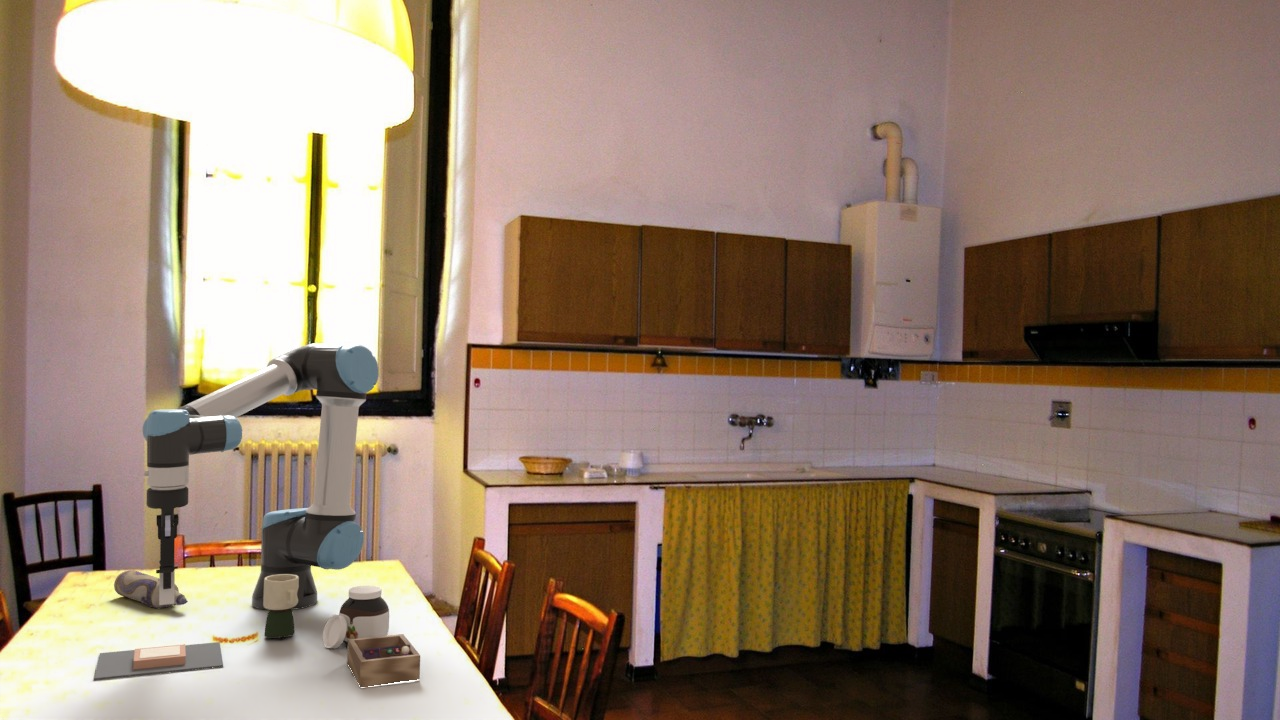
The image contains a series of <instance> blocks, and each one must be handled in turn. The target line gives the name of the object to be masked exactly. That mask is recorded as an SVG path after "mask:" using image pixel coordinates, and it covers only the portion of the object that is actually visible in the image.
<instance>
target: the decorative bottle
mask: <svg viewBox="0 0 1280 720" xmlns="http://www.w3.org/2000/svg"><path fill="white" fill-rule="evenodd" d="M113 586H114V592H115V593H116V594H117V595H119V596H121V597H125V598H128V599H131V600H133V601H134V600H135V601H136V602H137V601H138V602H140V603H142V604H143V605H145V606H147V607H150V608H154V609H158V608H159V609H164V608H165V607H166V608H169V607H172V606H183V605H185V604H187V603H188V600H187V598H186V597H185V594H183V593H180V591H179V587H178V585H177V584H176V583H174V604H166V605H159V577H156V576H153V575H149V574H146V573H144V572H141V571H138V570H135V569H128V570H125V571H123V572H121V573H120V574H118V575H117V577H116V578H115V580H114V584H113Z"/></svg>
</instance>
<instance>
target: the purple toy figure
mask: <svg viewBox="0 0 1280 720" xmlns="http://www.w3.org/2000/svg"><path fill="white" fill-rule="evenodd" d="M393 648H394V650H393ZM401 648H402V649H401ZM383 649H387V650H386V653H387V654H388V655H391V654H392V653H393V651H394V653H395V654H400V651H402V653H403V656H405V655H411V652H410V645H400V646H390V647H380V648H371V649H363V650H362V656H363V657H365V659H366V660H368V659H377V658H380V650H383ZM394 657H395V656H394Z"/></svg>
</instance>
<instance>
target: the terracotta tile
mask: <svg viewBox="0 0 1280 720" xmlns="http://www.w3.org/2000/svg"><path fill="white" fill-rule="evenodd" d="M185 645H186V644H176V645H175V644H174V645H163V646H154V647H153V646H151V647H142V648H135V649H134V650H135V654H134V663H133V669H142V668H152V667H162V666H172V665H182V664H185V661H186V652H185Z"/></svg>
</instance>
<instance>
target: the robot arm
mask: <svg viewBox="0 0 1280 720" xmlns="http://www.w3.org/2000/svg"><path fill="white" fill-rule="evenodd" d="M379 375H380V371H379V364H378V361H377V358H376V357H375V356H374V355H373V352H372V351H371V350H370V349H369V348H367V347H366V346H364V345H361V344H354V343H351V342H349V343H346V342H344V343H329V342H328V343H327V342H326V343H324V342H314V343H309V344H306V345H302V346H299V347H298V348H294V349H292V350H290V351H288V352H286V353H284V354H282V355H280V356H277V357H274V358H273V359H271V360H270V361H268V363H267V364H266V367H264V368H262V369H259V370H258V371H255V372H253V373H250V374H248V375H247V376H245V377H242V378H241V379H238V380H236V381H234V382H231V383H230V384H228V385H226V386H223V387H221V388H219V389H217V390H215V391H212V392H211V393H208V394H206V395H204V396H202V397H200V398H198V399H195V400H193V401H191V402H189V403H187V404H185V405H183V406H180V407H178V408H175V409H174V408H173V409H172V408H171V409H170V408H169V409H167V408H165V409H163V408H162V409H154V410H152V411H150V412H149V413H148V416H147V418H145V420H144V422H143V424H142V435H143V437H144V440H145V441H146V466H147V468H146V470H144V471H143V476H145V477H146V485H147V486H148V487H149V488H148V489H146V507H147V508H149V509H153V510H154V509H155V510H158V509H160V510H161V512H160V514H156V526H157V538H158V540H160V541H159V542H160V544H159V545H160V546H159V547H160V550H159V551H160V554H159V555H160V557H159V569H156V570H155V574H158V575H159V577H158V578H159V605H166V604H174V584H176V583H175V581H176V580H175V575H176V574H175V570H177V569H179V566H178V564H175V542H176V541H175V539H176V538H177V537H178V525H179V520H180V519H179V518H180V517H179V513H175V509H176V508H183V507H186V506H188V504H189V487H187V485H188V484H189V482H190V464H189V463H190V462H189V460H190V456H191V455H197V454H207V453H219V452H221V453H224V452H226V451H231V450H234V449H236V448H237V447H238V446H239V445H240V443H241V442H242V439H243V428H242V427H243V426H242V424H241V422H240V420H239V419H238V418H239V417H240V416H242V415H244V414H246V413H249V411H253V409H256V408H258V407H260V406H262V405H264V404H266V403H268V402H269V401H272V400H274V399H277V398H278V397H281V396H282V395H283V396H291V395H293V394H295V393H297V392H301V391H308V390H309V391H310V390H314V391H315V390H316V395H315V398H316V399H317V400H318V401H319V403H320V404H321V414H320V425H319V433H318V435H319V436H318V444H317V445H318V448H317V456H316V467H315V476H314V478H315V479H314V488H313V499H312V504H311V505H310V506H309V507H303V508H302V507H301V508H299V507H298V508H289V509H282V510H280V509H279V510H274V511H269V512H267V513H265V514H264V516H263V518H262V527H261V529H260V530H261V545H260V546H261V547H260V548H261V550H260V551H261V552H260V554H261V555H260V557H261V558H260V573H259V577H258V579H257V582H256V584H255V588H254V590H253V593H252V597H251V606H252V605H253V606H252V607H254V608H257V609H259V610H266V611H269V610H270V609H266V608H264V606H263V597H264V579H265V577H267V576H271V575H278V574H292V575H297V576H298V577H299V588H298V591H297V597H298V603H297V605H296V606H294V607H292V608H291V610H297V609H296V608H299V609H302V607H304V608H307V607H306V606H308V607H310V606H309V605H311V606H313V605H315V604H316V603H317V602H318V591H317V587H316V584H315V580H314V577H313V573H312V567H317V568H321V569H323V570H335V571H336V570H339V571H340V570H343V569H346V568H348V567H350V565H352V564H353V563H354V562H355V560H357V559H358V558H359V556H360V554H361V552H362V550H363V546H364V542H365V535H364V530H363V529H362V527H361V525H360V524H358V523H357V522H356V513H357V512H356V511H355V510H354V509H353V507H352V506H351V497H352V486H353V476H354V465H355V454H356V444H357V443H356V441H357V433H358V432H357V430H358V421H359V420H358V419H359V409H360V407H361V406H362V405H363V404H364V403H365V402H366V401H367V393H368V392H371V391H372V390H373V389H374V388H375V386H377V385H376V384H378V380H379Z"/></svg>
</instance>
